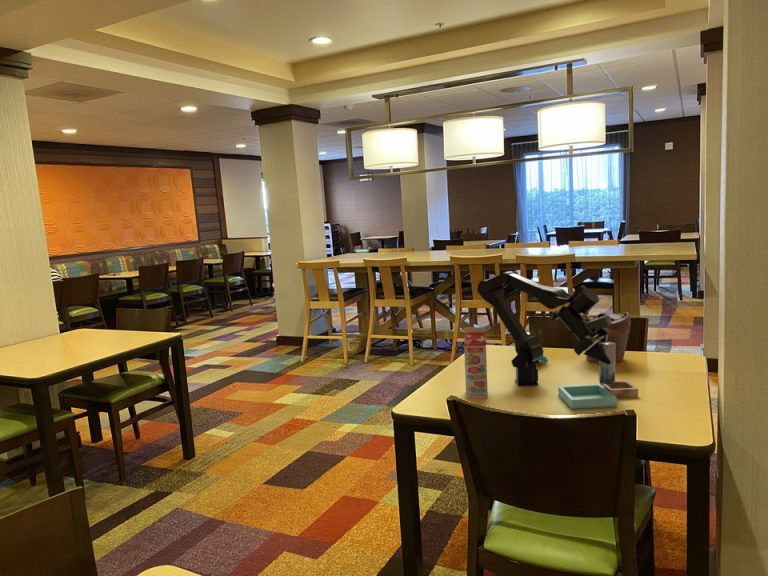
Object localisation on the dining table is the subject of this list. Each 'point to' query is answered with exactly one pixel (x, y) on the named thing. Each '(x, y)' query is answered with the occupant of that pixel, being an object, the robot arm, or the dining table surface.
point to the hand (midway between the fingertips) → (612, 361)
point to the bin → (587, 397)
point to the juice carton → (475, 362)
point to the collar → (622, 389)
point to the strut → (607, 369)
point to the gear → (544, 359)
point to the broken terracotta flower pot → (616, 333)
